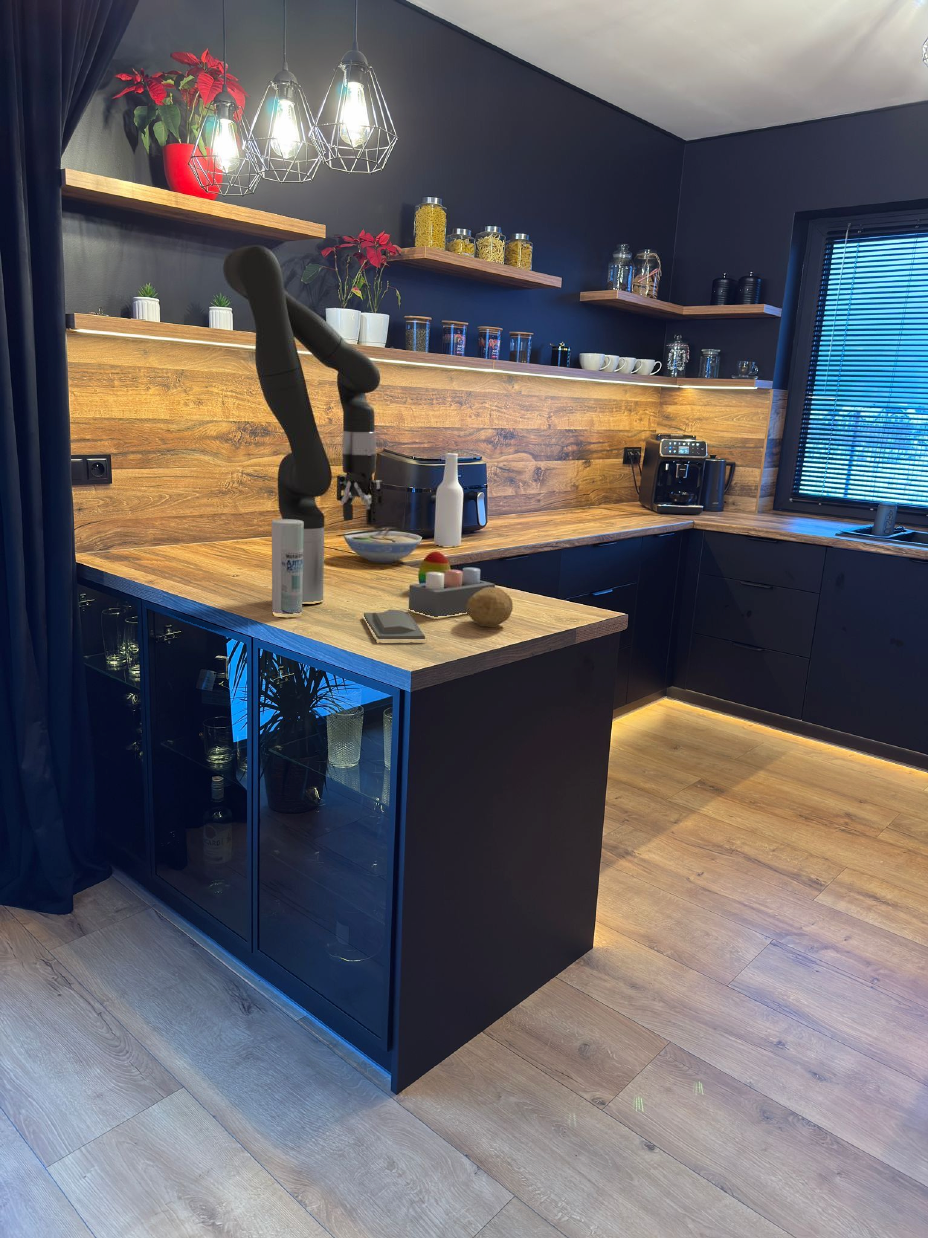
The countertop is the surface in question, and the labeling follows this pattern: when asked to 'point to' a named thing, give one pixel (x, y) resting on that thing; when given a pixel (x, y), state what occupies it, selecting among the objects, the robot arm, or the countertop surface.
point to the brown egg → (453, 578)
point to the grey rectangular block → (443, 598)
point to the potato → (489, 606)
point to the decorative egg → (433, 565)
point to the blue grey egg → (471, 576)
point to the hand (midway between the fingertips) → (359, 522)
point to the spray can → (287, 565)
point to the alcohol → (449, 506)
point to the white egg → (434, 580)
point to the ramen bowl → (382, 544)
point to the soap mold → (393, 625)
